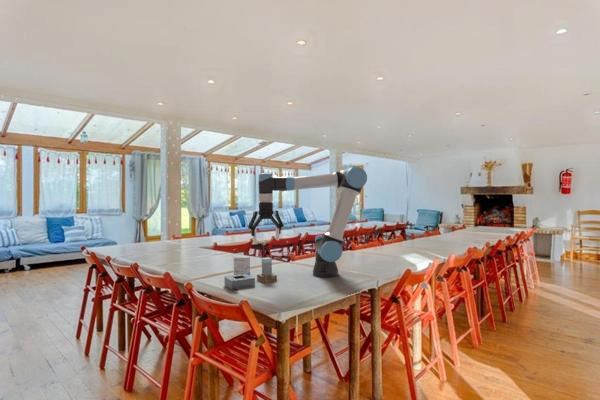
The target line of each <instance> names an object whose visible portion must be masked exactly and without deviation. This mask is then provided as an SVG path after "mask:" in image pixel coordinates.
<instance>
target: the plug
mask: <svg viewBox="0 0 600 400" xmlns="http://www.w3.org/2000/svg"><path fill="white" fill-rule="evenodd" d="M272 265H273V260H272V257H261V274H262V276H271V275H272V274H273V273H272V272H273V271H272V270H273V267H272Z"/></svg>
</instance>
